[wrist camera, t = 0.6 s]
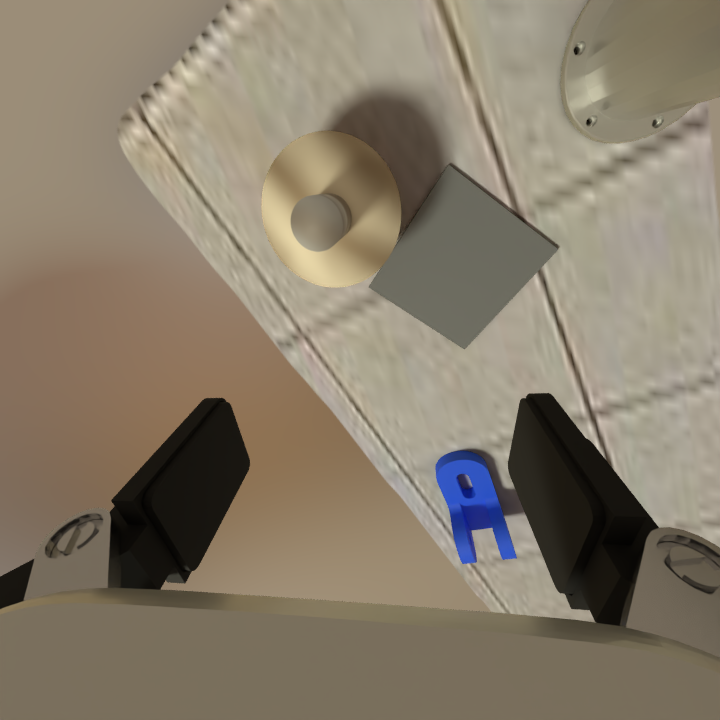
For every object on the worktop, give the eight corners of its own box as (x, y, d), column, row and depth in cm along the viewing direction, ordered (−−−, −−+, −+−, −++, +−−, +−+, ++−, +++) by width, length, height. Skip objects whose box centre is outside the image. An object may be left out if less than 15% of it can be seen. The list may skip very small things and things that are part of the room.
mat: (448, 164, 32) (448, 164, 31) (556, 248, 34) (558, 249, 34) (369, 286, 39) (368, 287, 38) (464, 348, 41) (464, 349, 41)
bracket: (503, 514, 57) (519, 567, 49) (458, 521, 59) (466, 572, 51) (480, 445, 49) (494, 494, 42) (429, 456, 52) (434, 504, 44)
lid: (302, 96, 25) (273, 70, 20) (430, 191, 28) (438, 193, 22) (246, 238, 32) (212, 250, 26) (355, 307, 34) (345, 332, 28)
